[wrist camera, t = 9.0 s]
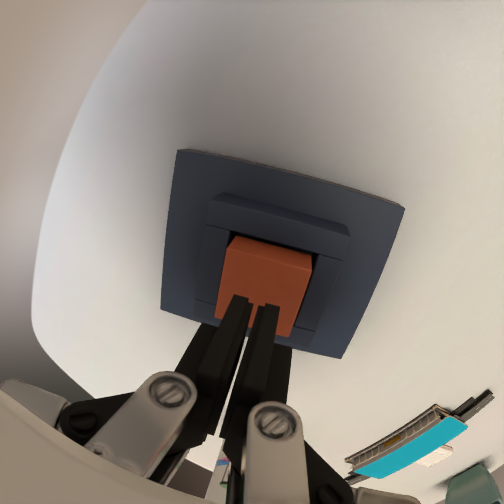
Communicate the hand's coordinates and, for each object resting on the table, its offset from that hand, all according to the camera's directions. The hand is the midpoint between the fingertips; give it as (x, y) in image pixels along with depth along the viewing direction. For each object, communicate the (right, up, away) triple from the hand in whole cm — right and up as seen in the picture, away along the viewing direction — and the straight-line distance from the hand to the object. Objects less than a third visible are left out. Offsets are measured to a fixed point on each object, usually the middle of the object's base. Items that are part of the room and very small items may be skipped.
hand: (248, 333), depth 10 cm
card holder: (+18, -18, +11) cm, 28 cm away
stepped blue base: (+1, +3, +6) cm, 7 cm away
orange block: (+1, +2, +4) cm, 4 cm away
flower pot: (+34, -32, +14) cm, 49 cm away
